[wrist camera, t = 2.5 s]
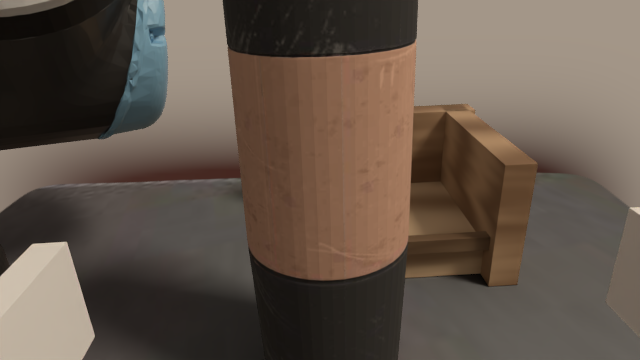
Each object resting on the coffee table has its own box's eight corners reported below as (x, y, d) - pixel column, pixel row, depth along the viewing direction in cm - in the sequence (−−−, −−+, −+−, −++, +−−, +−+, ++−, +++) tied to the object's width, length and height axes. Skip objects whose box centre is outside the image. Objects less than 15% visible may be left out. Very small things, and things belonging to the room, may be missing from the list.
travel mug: (242, 413, 23) (178, -20, 15) (286, 312, 30) (259, -24, 22) (395, 441, 22) (418, -28, 13) (405, 328, 28) (424, -30, 20)
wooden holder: (524, 284, 32) (545, 163, 28) (306, 297, 31) (300, 176, 28) (458, 195, 45) (467, 103, 41) (302, 203, 44) (297, 112, 40)
